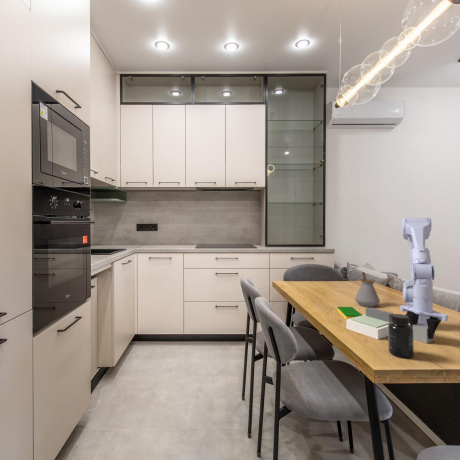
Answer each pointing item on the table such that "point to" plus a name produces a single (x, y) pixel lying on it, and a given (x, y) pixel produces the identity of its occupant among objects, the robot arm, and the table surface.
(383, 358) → the table surface
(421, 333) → the grey block
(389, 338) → the supplement bottle
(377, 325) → the trapdoor
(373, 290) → the coffee pot
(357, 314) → the dish sponge
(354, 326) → the trapdoor frame
